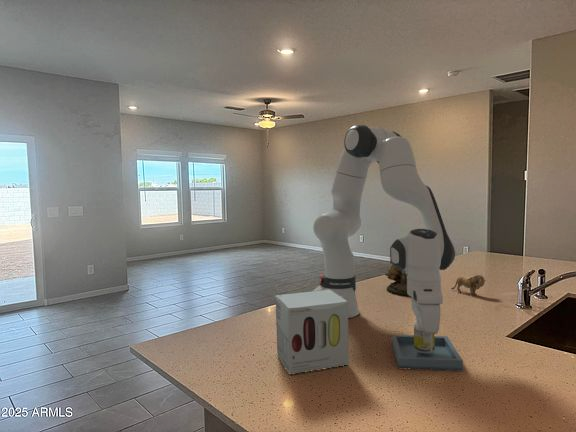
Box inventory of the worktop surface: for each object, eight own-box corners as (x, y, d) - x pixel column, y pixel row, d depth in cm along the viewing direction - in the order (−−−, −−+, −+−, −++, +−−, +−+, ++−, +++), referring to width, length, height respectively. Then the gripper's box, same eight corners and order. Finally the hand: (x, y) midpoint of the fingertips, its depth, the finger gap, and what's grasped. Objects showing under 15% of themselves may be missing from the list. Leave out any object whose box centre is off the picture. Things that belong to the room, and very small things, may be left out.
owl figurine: (378, 291, 176) (377, 253, 174) (394, 286, 183) (393, 250, 182) (413, 299, 162) (413, 258, 160) (429, 293, 169) (428, 254, 168)
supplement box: (289, 377, 100) (286, 308, 98) (276, 355, 113) (274, 294, 111) (350, 366, 105) (349, 300, 103) (331, 346, 118) (330, 288, 116)
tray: (398, 368, 102) (398, 358, 102) (391, 343, 118) (391, 334, 118) (462, 371, 100) (462, 360, 99) (447, 345, 115) (447, 336, 115)
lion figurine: (487, 296, 162) (487, 274, 161) (481, 298, 159) (481, 277, 158) (454, 289, 174) (454, 269, 173) (447, 291, 171) (447, 271, 170)
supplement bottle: (425, 344, 112) (425, 311, 111) (438, 351, 107) (438, 317, 106) (409, 347, 110) (409, 314, 110) (423, 355, 105) (422, 320, 104)
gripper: (406, 279, 118) (406, 323, 119) (418, 299, 98) (418, 352, 99) (428, 279, 117) (428, 323, 118) (444, 299, 97) (444, 353, 98)
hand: (423, 337), depth 109 cm, fingers closed on supplement bottle, 5 cm apart
